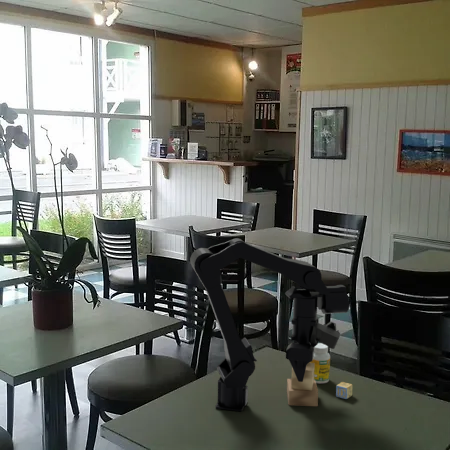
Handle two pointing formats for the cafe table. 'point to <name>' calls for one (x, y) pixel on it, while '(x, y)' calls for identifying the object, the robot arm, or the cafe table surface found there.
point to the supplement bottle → (321, 363)
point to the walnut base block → (302, 395)
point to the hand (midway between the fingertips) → (302, 375)
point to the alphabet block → (344, 390)
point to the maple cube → (307, 380)
